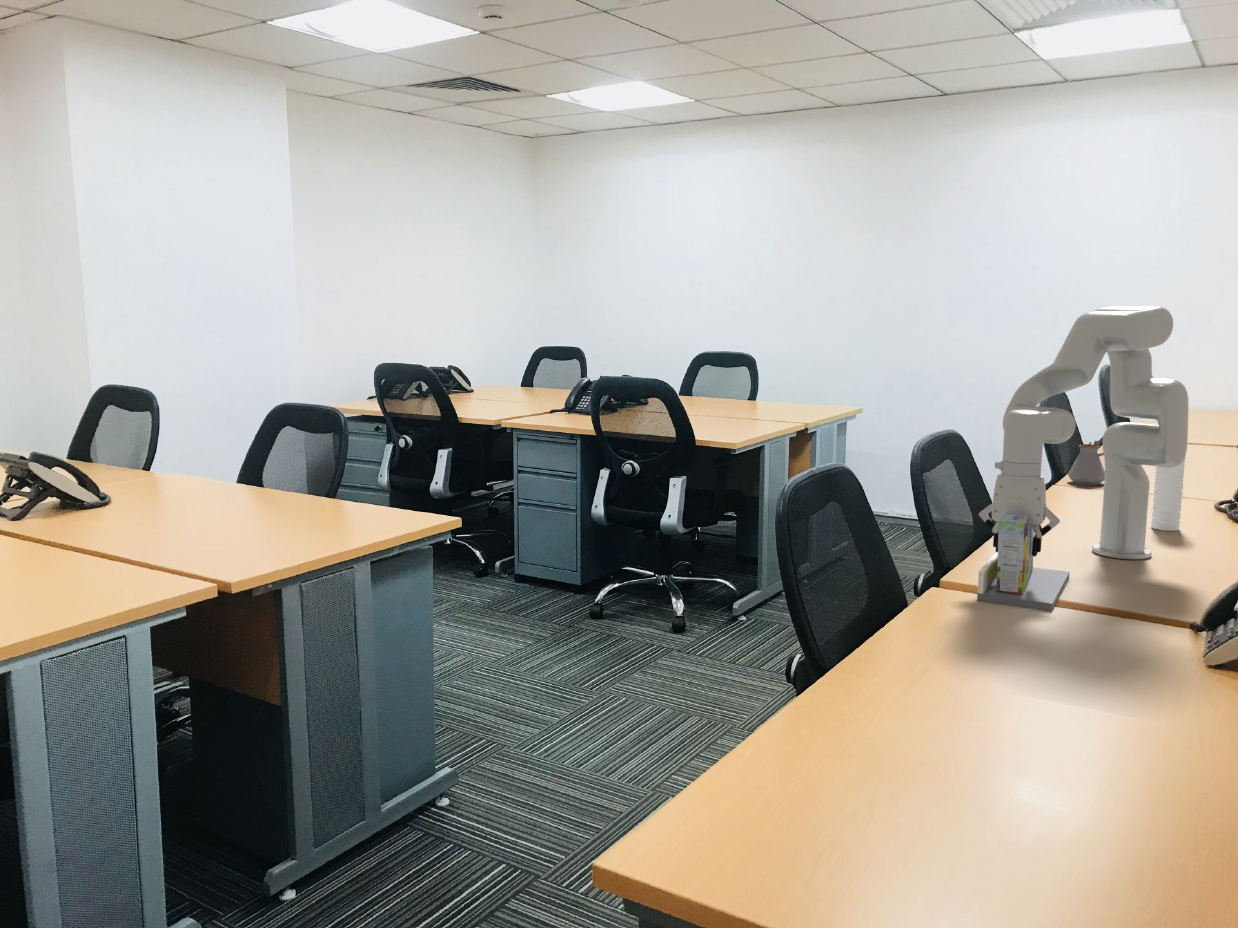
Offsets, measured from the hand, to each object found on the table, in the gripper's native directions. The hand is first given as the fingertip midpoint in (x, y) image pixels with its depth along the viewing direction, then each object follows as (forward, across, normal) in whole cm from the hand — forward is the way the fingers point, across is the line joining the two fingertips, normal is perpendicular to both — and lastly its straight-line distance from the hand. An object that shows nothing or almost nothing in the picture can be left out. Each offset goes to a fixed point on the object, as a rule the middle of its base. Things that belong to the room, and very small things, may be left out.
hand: (1016, 552), depth 199 cm
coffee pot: (+8, +5, +136) cm, 137 cm away
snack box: (+6, 0, 0) cm, 6 cm away
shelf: (+8, +2, 0) cm, 8 cm away
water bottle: (+8, +25, +77) cm, 81 cm away
